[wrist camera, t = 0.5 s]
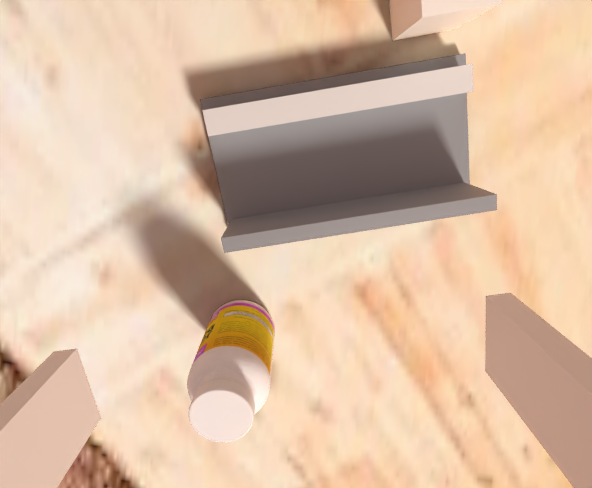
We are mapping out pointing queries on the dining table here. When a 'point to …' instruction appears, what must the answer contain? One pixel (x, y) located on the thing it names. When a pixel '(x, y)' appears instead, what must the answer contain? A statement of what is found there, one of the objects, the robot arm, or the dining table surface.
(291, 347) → the dining table surface
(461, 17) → the block
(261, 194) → the rail base
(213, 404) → the supplement bottle
